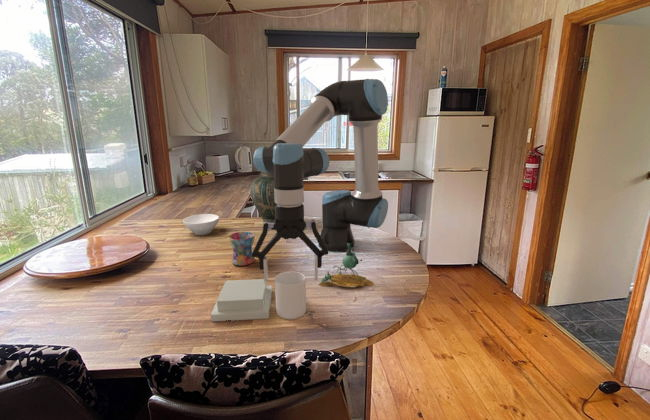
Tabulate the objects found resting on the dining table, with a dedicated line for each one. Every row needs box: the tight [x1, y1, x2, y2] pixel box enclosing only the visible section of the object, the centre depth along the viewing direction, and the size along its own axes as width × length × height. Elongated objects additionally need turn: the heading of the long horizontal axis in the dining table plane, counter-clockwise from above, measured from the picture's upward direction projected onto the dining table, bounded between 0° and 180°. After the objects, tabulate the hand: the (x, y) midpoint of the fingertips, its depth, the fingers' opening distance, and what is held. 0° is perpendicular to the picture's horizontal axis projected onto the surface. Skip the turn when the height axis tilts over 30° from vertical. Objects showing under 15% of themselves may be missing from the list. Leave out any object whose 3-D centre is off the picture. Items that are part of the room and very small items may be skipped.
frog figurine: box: [319, 243, 374, 288], centre depth 109 cm, size 10×18×15 cm, turn 84°
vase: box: [250, 171, 276, 223], centre depth 166 cm, size 22×22×30 cm
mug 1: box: [227, 231, 256, 267], centre depth 127 cm, size 12×9×11 cm
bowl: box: [182, 213, 220, 236], centre depth 160 cm, size 16×16×7 cm
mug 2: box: [274, 270, 307, 320], centre depth 95 cm, size 12×8×10 cm
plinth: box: [210, 278, 273, 322], centre depth 97 cm, size 15×15×5 cm
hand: (291, 279), depth 94 cm, fingers open, 13 cm apart
